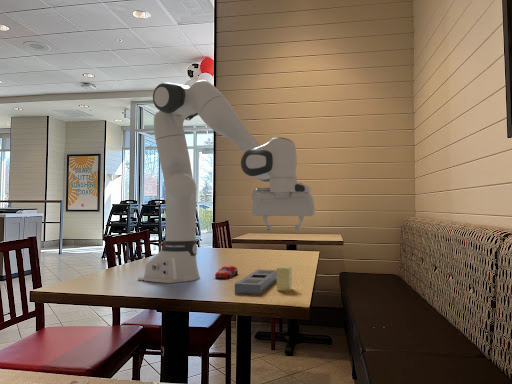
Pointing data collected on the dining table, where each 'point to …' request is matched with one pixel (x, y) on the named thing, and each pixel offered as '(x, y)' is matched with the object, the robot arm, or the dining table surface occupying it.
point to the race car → (226, 272)
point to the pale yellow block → (284, 279)
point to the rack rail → (256, 282)
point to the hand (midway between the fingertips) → (283, 230)
